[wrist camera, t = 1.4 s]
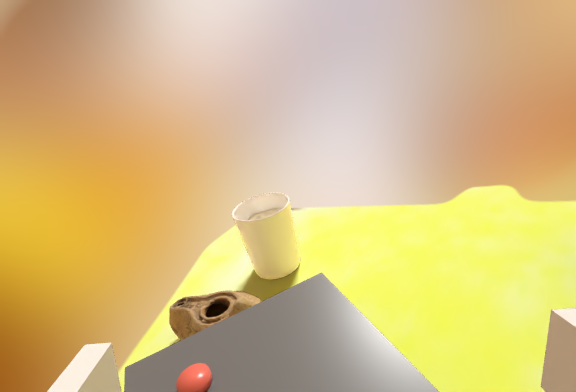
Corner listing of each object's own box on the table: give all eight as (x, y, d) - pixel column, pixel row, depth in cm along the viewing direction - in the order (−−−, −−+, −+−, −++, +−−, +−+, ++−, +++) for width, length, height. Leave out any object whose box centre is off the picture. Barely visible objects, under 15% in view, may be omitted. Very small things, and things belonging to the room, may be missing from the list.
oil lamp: (192, 312, 56) (174, 272, 53) (280, 309, 51) (267, 265, 48) (155, 373, 46) (131, 328, 43) (261, 375, 42) (242, 326, 39)
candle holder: (283, 288, 56) (264, 224, 51) (240, 276, 62) (219, 217, 57) (315, 253, 62) (300, 194, 58) (273, 245, 68) (257, 191, 64)
